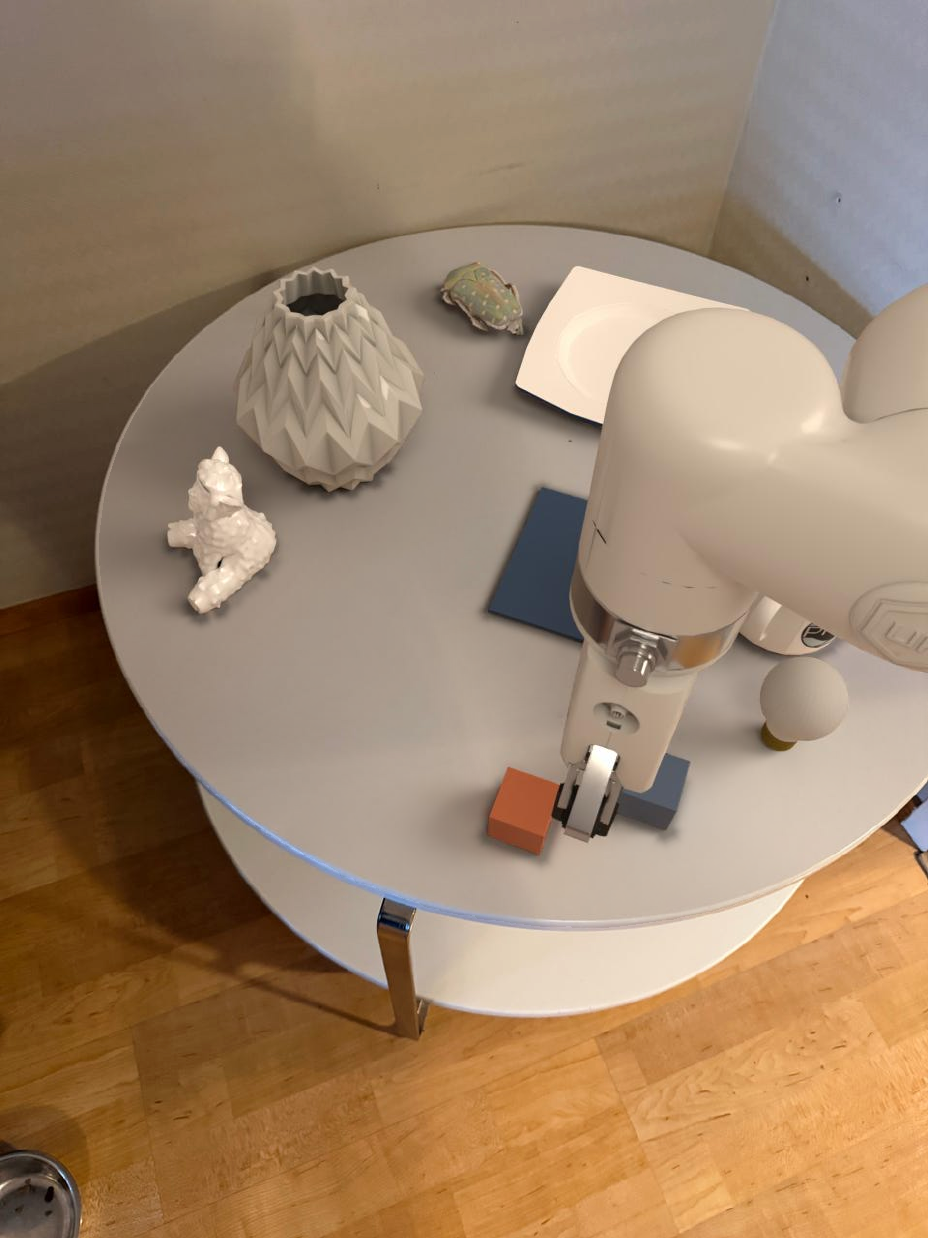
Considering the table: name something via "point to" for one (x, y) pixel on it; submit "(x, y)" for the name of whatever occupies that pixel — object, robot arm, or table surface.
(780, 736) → the light bulb
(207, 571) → the sitting furry creature
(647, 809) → the slate block
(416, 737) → the table surface
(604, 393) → the plate
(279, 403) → the vase
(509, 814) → the terracotta block
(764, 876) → the table surface
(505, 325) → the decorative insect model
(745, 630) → the mug
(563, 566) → the navy blue mat
